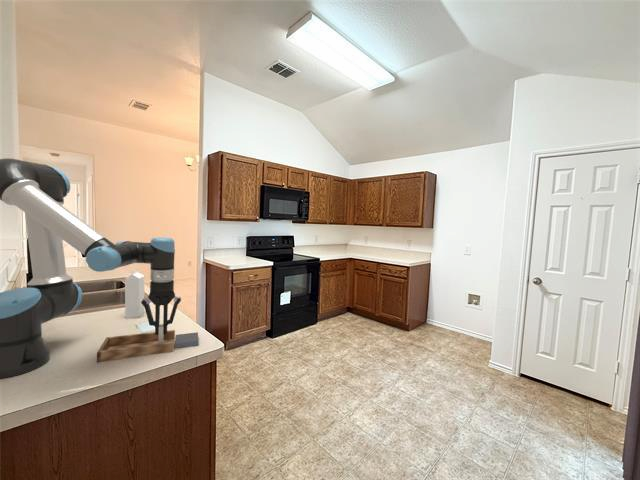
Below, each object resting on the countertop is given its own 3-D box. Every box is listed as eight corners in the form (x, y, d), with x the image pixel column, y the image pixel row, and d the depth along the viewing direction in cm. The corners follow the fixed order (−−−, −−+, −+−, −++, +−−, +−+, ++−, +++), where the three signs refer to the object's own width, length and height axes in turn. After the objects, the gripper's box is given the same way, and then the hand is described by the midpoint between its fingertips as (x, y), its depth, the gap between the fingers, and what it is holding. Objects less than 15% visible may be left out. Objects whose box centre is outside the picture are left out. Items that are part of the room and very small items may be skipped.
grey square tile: (174, 350, 103) (174, 343, 102) (175, 340, 110) (175, 334, 110) (198, 346, 106) (198, 340, 106) (197, 337, 113) (197, 332, 113)
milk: (144, 313, 137) (145, 269, 135) (139, 318, 131) (139, 271, 129) (130, 313, 136) (130, 268, 134) (124, 318, 130) (125, 271, 128)
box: (96, 364, 91) (96, 352, 91) (106, 347, 102) (106, 337, 102) (173, 353, 101) (173, 342, 100) (174, 339, 111) (174, 329, 111)
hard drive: (135, 323, 122) (141, 332, 113) (156, 319, 128) (164, 328, 119) (135, 326, 123) (141, 336, 113) (156, 322, 128) (164, 331, 119)
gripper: (139, 283, 96) (138, 349, 98) (182, 281, 102) (180, 344, 104) (142, 278, 103) (141, 340, 105) (182, 277, 108) (180, 336, 110)
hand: (160, 342), depth 104 cm, fingers closed
